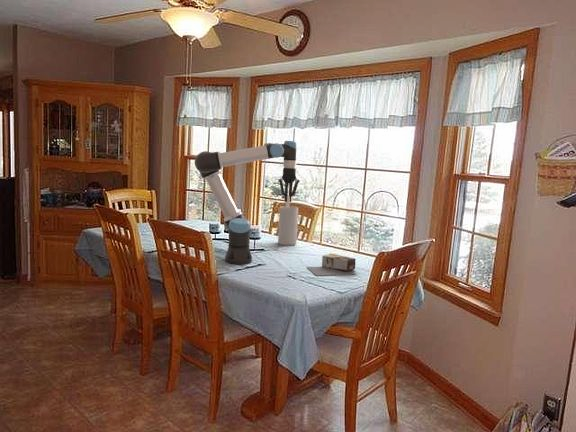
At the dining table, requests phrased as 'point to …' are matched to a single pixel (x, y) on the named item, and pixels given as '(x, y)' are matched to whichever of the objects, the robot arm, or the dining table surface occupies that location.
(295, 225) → the cylinder vase
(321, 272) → the mat
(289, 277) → the dining table surface
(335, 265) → the coffee box
